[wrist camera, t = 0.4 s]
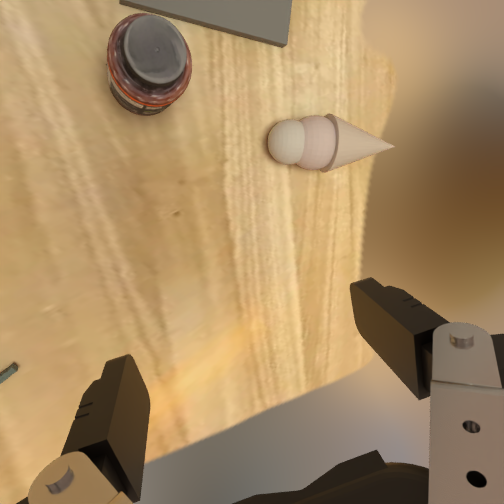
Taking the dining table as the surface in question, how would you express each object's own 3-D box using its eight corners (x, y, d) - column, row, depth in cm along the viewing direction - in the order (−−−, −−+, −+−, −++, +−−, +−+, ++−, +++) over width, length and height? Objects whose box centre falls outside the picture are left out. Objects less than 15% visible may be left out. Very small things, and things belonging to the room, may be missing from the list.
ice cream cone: (373, 151, 44) (258, 147, 41) (397, 106, 39) (268, 97, 36) (392, 185, 40) (267, 183, 37) (421, 140, 36) (280, 134, 32)
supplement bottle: (147, 33, 32) (166, -25, 22) (186, 95, 34) (220, 68, 24) (91, 68, 31) (85, 25, 21) (136, 129, 33) (149, 117, 23)
